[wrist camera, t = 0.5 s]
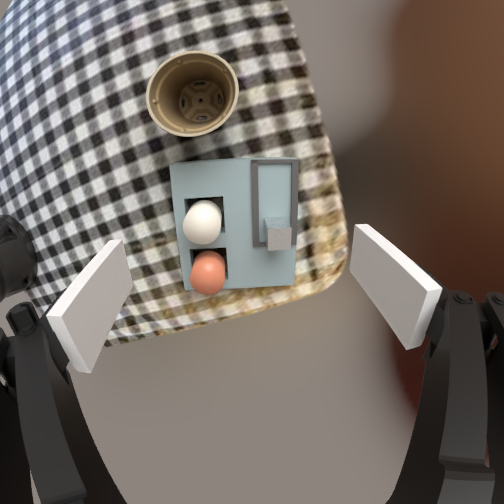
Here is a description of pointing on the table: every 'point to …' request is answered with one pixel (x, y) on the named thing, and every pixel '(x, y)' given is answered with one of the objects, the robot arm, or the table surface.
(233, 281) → the panel
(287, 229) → the grey stone cube
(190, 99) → the flower pot
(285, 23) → the table surface
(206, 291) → the salmon orange egg
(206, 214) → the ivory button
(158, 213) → the table surface
